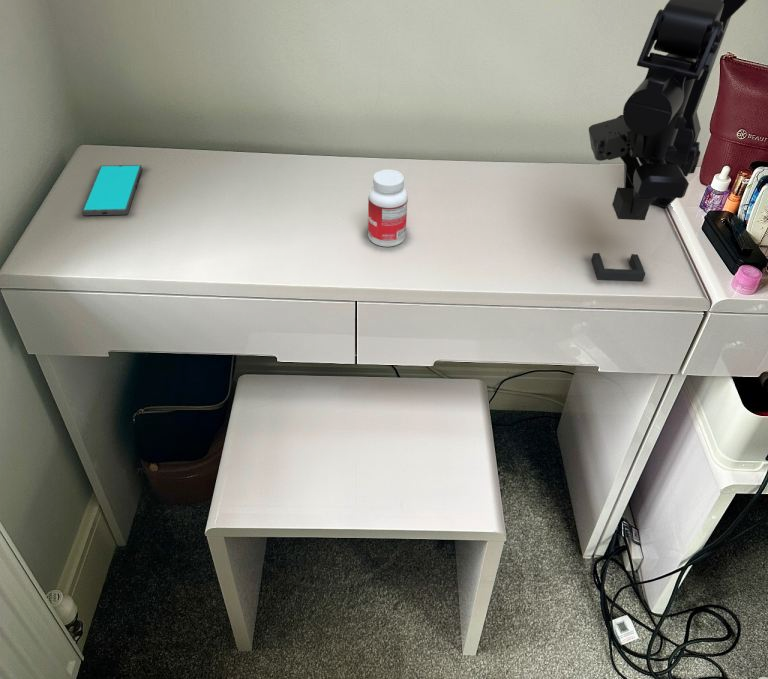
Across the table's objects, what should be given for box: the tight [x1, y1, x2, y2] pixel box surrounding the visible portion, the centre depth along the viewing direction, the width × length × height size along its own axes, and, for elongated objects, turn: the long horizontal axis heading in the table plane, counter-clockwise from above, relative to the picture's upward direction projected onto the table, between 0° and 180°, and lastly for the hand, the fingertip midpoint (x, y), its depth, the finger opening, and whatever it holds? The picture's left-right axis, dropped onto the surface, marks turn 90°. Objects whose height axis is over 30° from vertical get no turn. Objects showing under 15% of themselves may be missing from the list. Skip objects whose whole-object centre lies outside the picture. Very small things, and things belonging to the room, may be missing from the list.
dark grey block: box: [611, 187, 651, 221], centre depth 104 cm, size 4×4×3 cm
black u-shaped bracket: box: [590, 252, 646, 282], centre depth 109 cm, size 5×7×2 cm
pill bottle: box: [367, 168, 409, 248], centre depth 111 cm, size 6×6×11 cm
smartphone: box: [81, 164, 143, 216], centre depth 122 cm, size 7×1×15 cm
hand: (630, 206), depth 104 cm, fingers closed on dark grey block, 4 cm apart
